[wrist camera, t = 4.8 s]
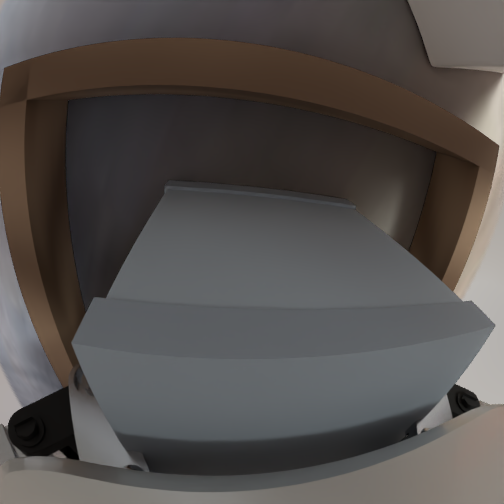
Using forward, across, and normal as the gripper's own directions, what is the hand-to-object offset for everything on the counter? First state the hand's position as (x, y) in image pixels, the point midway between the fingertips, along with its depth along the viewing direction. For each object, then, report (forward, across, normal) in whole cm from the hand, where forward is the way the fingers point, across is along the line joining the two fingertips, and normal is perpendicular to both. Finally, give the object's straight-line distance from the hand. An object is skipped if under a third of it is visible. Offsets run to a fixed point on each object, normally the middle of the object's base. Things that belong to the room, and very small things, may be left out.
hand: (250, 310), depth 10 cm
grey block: (+1, 0, 0) cm, 1 cm away
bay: (+1, 0, +4) cm, 5 cm away
